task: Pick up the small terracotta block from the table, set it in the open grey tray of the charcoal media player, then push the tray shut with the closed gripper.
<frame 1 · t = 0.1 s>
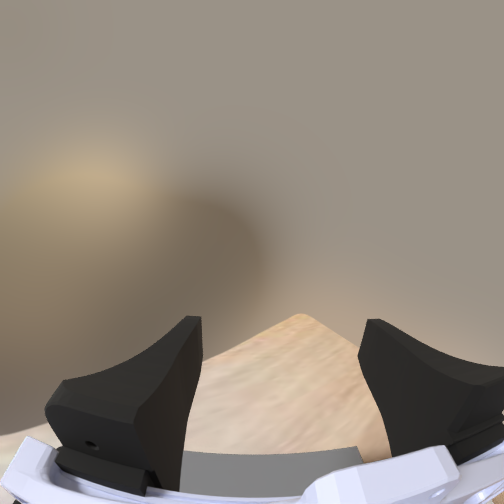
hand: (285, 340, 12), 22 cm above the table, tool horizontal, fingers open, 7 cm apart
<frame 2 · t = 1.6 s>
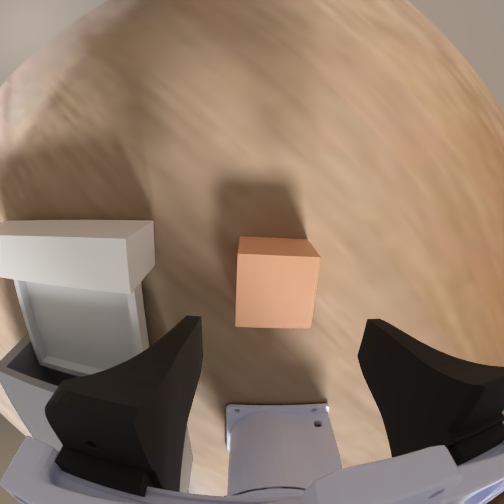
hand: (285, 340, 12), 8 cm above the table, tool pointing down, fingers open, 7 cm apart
housing: (112, 405, 24), on the table
tray: (63, 317, 17), point 3 cm above the table, slide at 8.0 cm
block: (271, 269, 20), on the table
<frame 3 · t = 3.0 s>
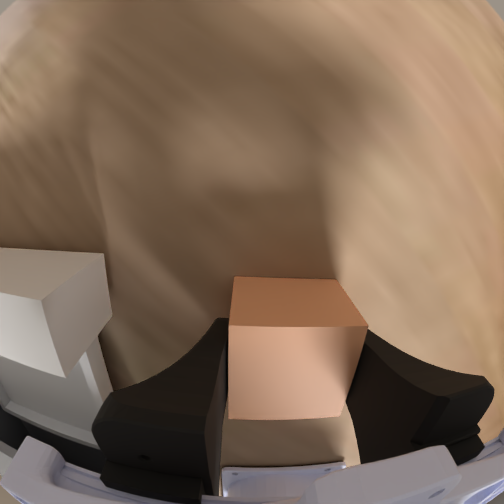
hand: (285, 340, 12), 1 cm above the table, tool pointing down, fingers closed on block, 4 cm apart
housing: (89, 454, 17), on the table
tray: (10, 372, 11), point 3 cm above the table, slide at 8.0 cm
block: (282, 322, 13), on the table, touching gripper
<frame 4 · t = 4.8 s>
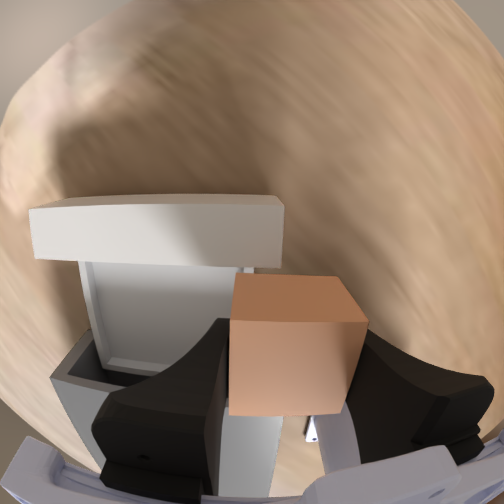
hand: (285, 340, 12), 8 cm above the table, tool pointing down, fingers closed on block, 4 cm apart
housing: (183, 407, 24), on the table
tray: (156, 308, 17), point 3 cm above the table, slide at 8.0 cm
block: (282, 319, 13), point 7 cm above the table, touching gripper
when the fingers open (4 cm above the table, at t = 6.6 s): block drops 1 cm, resting on tray.
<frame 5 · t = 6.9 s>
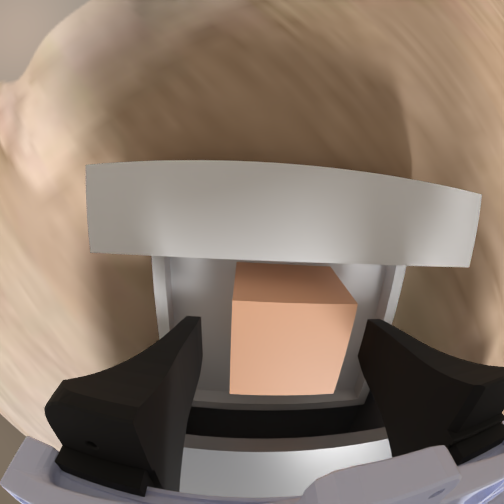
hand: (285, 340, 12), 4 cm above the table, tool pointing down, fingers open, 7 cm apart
housing: (262, 436, 19), on the table
tray: (284, 325, 12), point 3 cm above the table, slide at 8.0 cm, touching block
block: (280, 306, 14), point 1 cm above the table, touching tray
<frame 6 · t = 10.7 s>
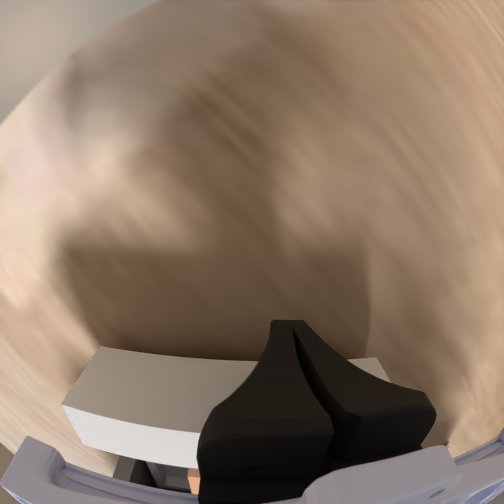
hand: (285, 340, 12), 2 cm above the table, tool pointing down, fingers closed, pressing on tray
housing: (235, 490, 19), on the table
tray: (234, 467, 13), point 3 cm above the table, slide at 6.0 cm, touching block, gripper
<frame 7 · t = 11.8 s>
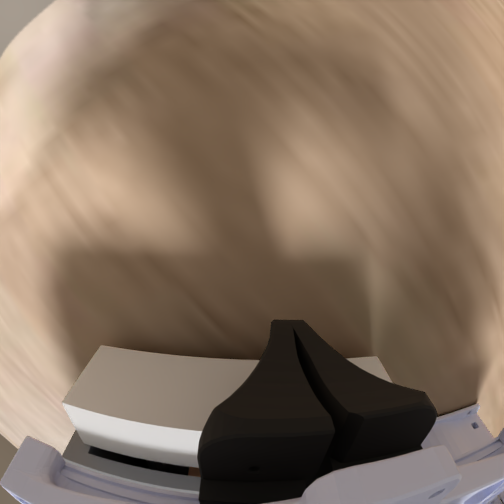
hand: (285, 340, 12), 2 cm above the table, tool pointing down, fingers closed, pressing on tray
housing: (236, 460, 17), on the table
tray: (235, 467, 13), point 3 cm above the table, slide at -0.3 cm, touching block, gripper
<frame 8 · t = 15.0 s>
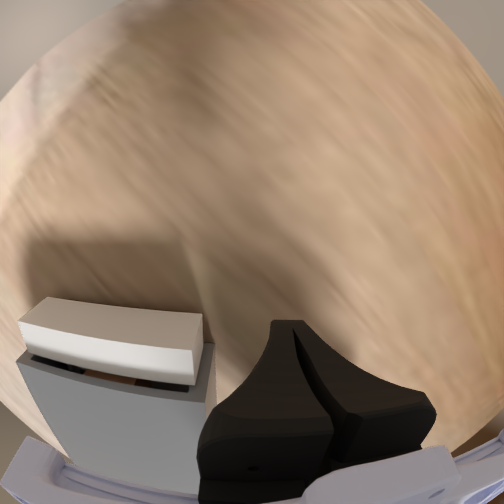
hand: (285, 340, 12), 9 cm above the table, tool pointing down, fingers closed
housing: (138, 398, 25), on the table
tray: (119, 387, 21), point 3 cm above the table, slide at 0.0 cm, touching block
block: (126, 373, 22), point 1 cm above the table, touching tray
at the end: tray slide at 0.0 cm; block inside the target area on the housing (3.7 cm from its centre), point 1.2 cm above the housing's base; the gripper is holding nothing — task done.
